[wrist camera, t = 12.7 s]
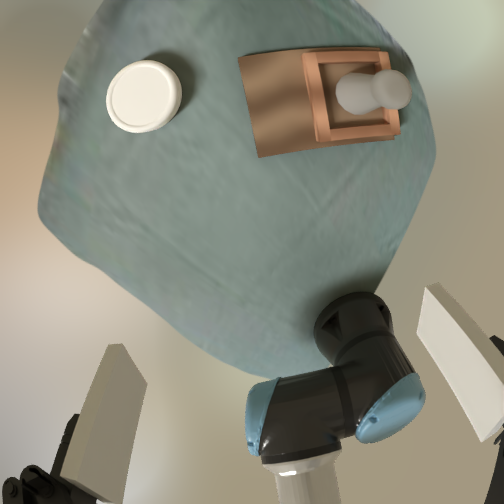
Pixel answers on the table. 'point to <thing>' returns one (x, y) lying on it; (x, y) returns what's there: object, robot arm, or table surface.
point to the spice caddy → (311, 99)
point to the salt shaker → (373, 91)
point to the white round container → (143, 96)
